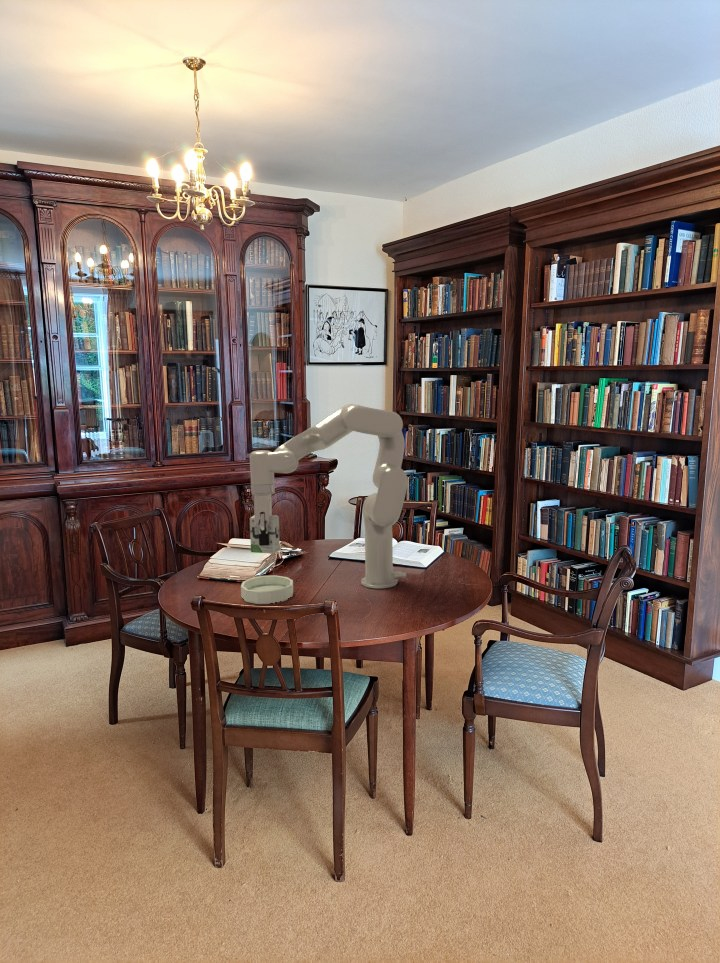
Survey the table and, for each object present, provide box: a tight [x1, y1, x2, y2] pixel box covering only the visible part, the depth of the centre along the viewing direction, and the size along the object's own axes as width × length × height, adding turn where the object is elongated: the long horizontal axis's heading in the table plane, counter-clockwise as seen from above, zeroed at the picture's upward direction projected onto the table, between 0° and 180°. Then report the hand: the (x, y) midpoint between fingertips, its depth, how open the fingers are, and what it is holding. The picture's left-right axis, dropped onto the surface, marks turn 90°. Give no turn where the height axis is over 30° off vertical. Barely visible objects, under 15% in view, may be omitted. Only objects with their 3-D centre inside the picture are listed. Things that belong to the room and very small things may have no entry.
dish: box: [240, 574, 294, 605], centre depth 214 cm, size 17×17×4 cm
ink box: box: [249, 514, 281, 555], centre depth 211 cm, size 9×5×12 cm, turn 75°
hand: (265, 542), depth 212 cm, fingers closed on ink box, 6 cm apart
